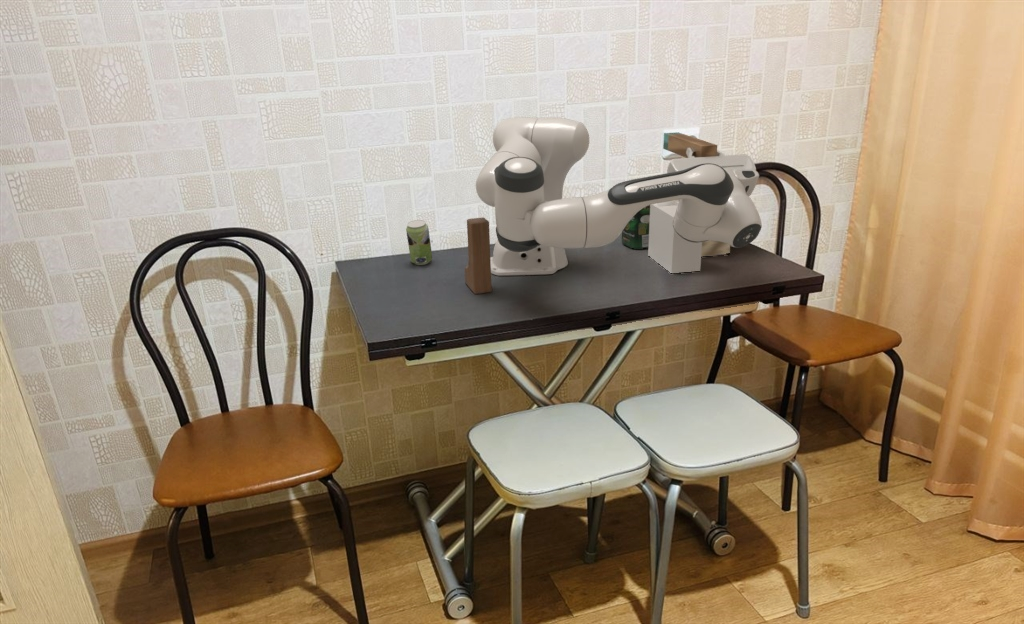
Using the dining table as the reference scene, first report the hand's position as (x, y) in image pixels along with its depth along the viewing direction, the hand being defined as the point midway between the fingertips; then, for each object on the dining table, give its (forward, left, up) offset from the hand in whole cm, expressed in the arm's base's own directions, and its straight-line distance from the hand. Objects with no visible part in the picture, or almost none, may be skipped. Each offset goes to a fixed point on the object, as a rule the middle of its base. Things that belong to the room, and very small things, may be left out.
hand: (700, 149), depth 179 cm
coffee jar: (-3, +30, -33) cm, 45 cm away
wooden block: (-54, +7, -33) cm, 64 cm away
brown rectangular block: (0, +6, -2) cm, 7 cm away
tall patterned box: (+13, +21, -32) cm, 41 cm away
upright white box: (0, +11, -32) cm, 34 cm away
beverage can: (-66, +31, -33) cm, 80 cm away
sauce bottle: (+10, +38, -33) cm, 51 cm away
